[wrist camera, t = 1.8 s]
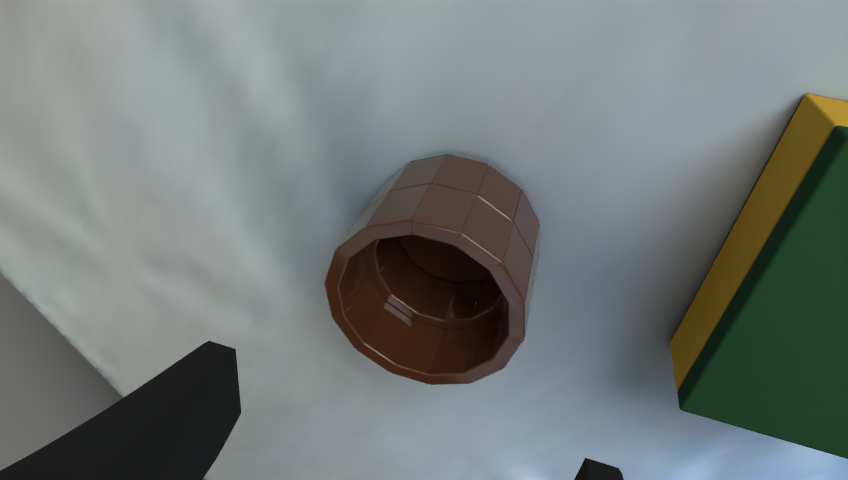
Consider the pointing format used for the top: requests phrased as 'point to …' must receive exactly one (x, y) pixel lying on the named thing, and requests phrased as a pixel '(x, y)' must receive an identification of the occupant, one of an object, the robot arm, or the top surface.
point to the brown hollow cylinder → (438, 272)
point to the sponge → (779, 297)
